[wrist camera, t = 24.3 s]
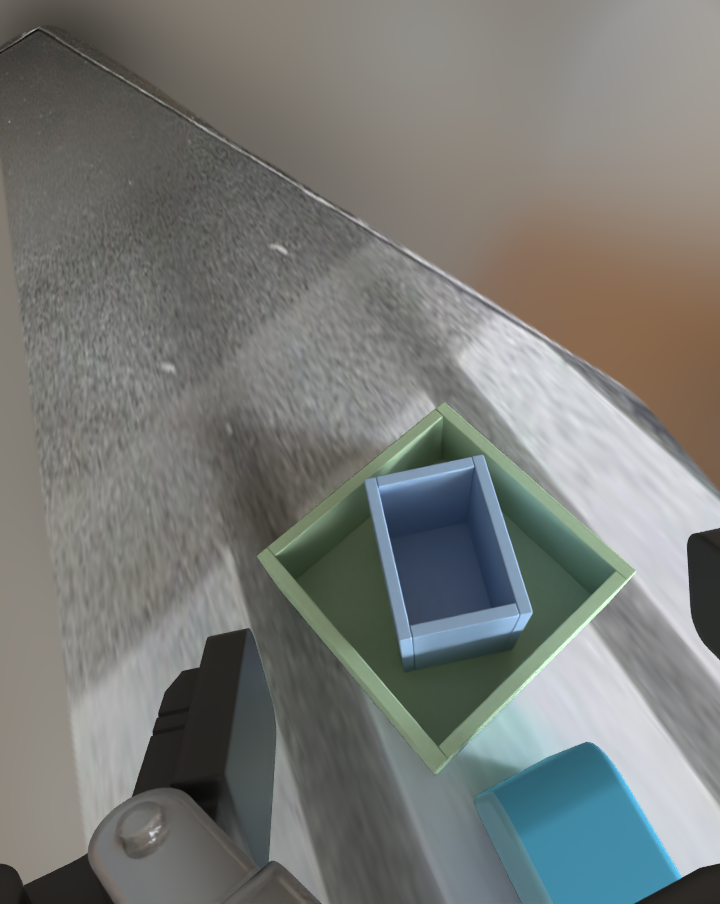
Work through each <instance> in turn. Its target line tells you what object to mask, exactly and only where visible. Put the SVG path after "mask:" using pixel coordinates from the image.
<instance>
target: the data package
mask: <svg viewBox="0 0 720 904" xmlns="http://www.w3.org/2000/svg"><path fill="white" fill-rule="evenodd" d="M474 803H475V806H476V809H477V811H478V813H479V816H480V818H481V820H482V822H483V825H484V827H485V829H486V831H487V833H488V835H489V837H490V839H491V841H492V843H493V845H494V847H495V849H496V851H497V854H498V856H499V858H500V860H501V862H502V864H503V866H504V868H505V870H506V872H507V874H508V876H509V878H510V880H511V882H512V884H513V886H514V888H515V891H516V893H517V895H518V897H519V899H520V901H521V903H522V904H634V903H636V902H638V901H640V900H642V899H644V898H645V897H647V896H649V895H651V894H653V893H655V892H657V891H658V890H660V889H662V888H664V887H666V886H668V885H669V884H671V883H673V882H675V881H677V880H679V879H681V878H682V877H681V875H680V873H679V872H678V870H677V868H676V866H675V865H674V863H673V861H672V860H671V858H670V856H669V855H668V853H667V851H666V850H665V848H664V846H663V844H662V843H661V841H660V839H659V838H658V836H657V834H656V833H655V831H654V829H653V828H652V826H651V824H650V822H649V821H648V819H647V817H646V816H645V814H644V812H643V811H642V809H641V807H640V806H639V804H638V802H637V800H636V799H635V797H634V795H633V794H632V792H631V790H630V789H629V787H628V785H627V784H626V782H625V780H624V779H623V777H622V776H621V774H620V772H619V771H618V770H617V768H616V767H615V765H614V764H613V763H612V761H611V760H610V759H609V757H608V756H607V755H606V754H605V753H604V752H603V751H602V750H601V749H600V748H599V747H598V746H596V745H595V744H593V743H590V742H585V743H582V744H580V745H577V746H575V747H572V748H570V749H567V750H565V751H562V752H559V753H557V754H554V755H552V756H549V757H547V758H545V759H544V760H542V761H540V762H538V763H536V764H534V765H532V766H530V767H529V768H527V769H525V770H523V771H521V772H519V773H517V774H516V775H514V776H512V777H510V778H508V779H506V780H504V781H503V782H501V783H499V784H497V785H495V786H493V787H491V788H489V789H488V790H486V791H484V792H482V793H480V794H478V795H477V796H476V797H475V799H474Z"/></svg>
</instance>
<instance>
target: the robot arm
mask: <svg viewBox="0 0 720 904" xmlns="http://www.w3.org/2000/svg"><path fill="white" fill-rule="evenodd" d="M687 556H688V573H689V591H690V608H691V615H692V620H693V623H694V626H695V628H696V631H697V633H698V635H699V637H700V638H701V640H702V641H703V643H704V644H705V645H706V646H707V647H708V649H709V650H710V651H711V652H712V653H713V654H714V655H715V656H716V657H717V658H718V659H719V660H720V528H718V529H713V530H709V531H704V532H700V533H695V534H692V535H691V536H690V537H689V539H688V543H687ZM158 715H159V718H157V719H156V722H155V725H154V728H153V736H151V738H150V741H149V744H148V747H147V751H146V754H145V757H144V760H143V763H142V766H141V770H140V773H139V776H138V779H137V782H136V785H135V789H134V792H133V795H132V798H130V799H128V800H126V801H125V802H123V803H122V804H120V805H119V806H118V807H116V808H115V809H114V810H113V811H111V812H110V813H109V814H108V815H107V816H106V817H105V818H104V819H103V821H102V822H101V823H100V824H99V826H98V827H97V829H96V830H95V832H94V834H93V836H92V838H91V840H90V843H89V847H88V853H87V854H86V855H84V856H82V857H81V858H79V859H77V860H75V861H73V862H72V863H70V864H68V865H65V866H64V867H61V868H59V869H57V870H55V871H53V872H51V873H49V874H47V875H45V876H42V877H40V878H38V879H36V880H34V881H32V882H30V883H28V884H26V885H23V883H22V880H21V878H20V876H19V874H18V872H17V871H16V870H15V869H14V868H13V867H11V866H8V865H6V864H0V904H321V903H320V902H319V901H318V900H317V899H316V898H315V897H314V896H313V895H312V894H311V893H310V892H309V891H308V890H307V889H306V888H305V887H304V886H303V885H302V884H301V883H300V882H299V881H298V880H297V879H296V878H295V877H294V876H293V875H292V874H291V873H290V872H289V871H288V870H287V869H286V868H285V867H283V866H282V865H281V864H279V863H278V862H276V861H270V862H269V846H270V830H271V814H272V797H273V781H274V765H275V749H276V722H275V715H274V709H273V704H272V700H271V696H270V692H269V689H268V685H267V682H266V678H265V675H264V671H263V667H262V664H261V660H260V657H259V653H258V650H257V646H256V643H255V639H254V636H253V634H252V632H251V630H250V629H249V628H247V629H242V630H238V631H233V632H228V633H224V634H219V635H214V636H210V637H208V638H207V641H206V644H205V648H204V652H203V656H202V660H201V664H200V667H199V668H195V669H190V670H185V671H182V672H181V673H180V675H179V676H178V677H177V678H176V679H175V681H174V682H173V683H172V684H171V685H170V687H169V688H168V689H167V690H166V691H165V694H164V697H163V700H162V703H161V706H160V709H159V713H158ZM268 862H269V863H268ZM634 904H720V864H715V865H711V866H706V867H702V868H699V869H697V870H695V871H693V872H692V873H690V874H688V875H686V876H684V877H682V878H681V879H679V880H677V881H675V882H673V883H671V884H669V885H668V886H666V887H664V888H662V889H660V890H658V891H657V892H655V893H653V894H651V895H649V896H647V897H645V898H644V899H642V900H640V901H638V902H636V903H634Z"/></svg>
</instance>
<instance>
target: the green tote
mask: <svg viewBox="0 0 720 904" xmlns="http://www.w3.org/2000/svg"><path fill="white" fill-rule="evenodd" d="M477 455H484V458H485V461H486V464H487V467H488V471H489V474H490V477H491V480H492V483H493V487H494V490H495V493H496V496H497V499H498V502H499V506H500V509H501V512H502V515H503V518H504V522H505V525H506V528H507V531H508V534H509V538H510V541H511V544H512V547H513V550H514V553H515V557H516V560H517V563H518V566H519V569H520V573H521V576H522V579H523V582H524V585H525V589H526V592H527V595H528V598H529V601H530V604H531V608H532V611H533V613H532V615H531V617H530V618H529V620H528V622H527V624H526V626H525V627H524V629H523V631H522V633H521V635H520V636H519V638H518V640H517V642H516V644H515V646H514V647H513V649H512V650H507V651H503V652H498V653H493V654H489V655H484V656H480V657H475V658H470V659H466V660H461V661H456V662H452V663H447V664H443V665H438V666H433V667H429V668H424V669H419V670H415V671H410V672H406V673H405V672H404V670H403V665H402V661H401V656H400V651H399V647H398V642H397V637H396V633H395V628H394V624H393V619H392V614H391V610H390V605H389V600H388V596H387V591H386V586H385V582H384V577H383V573H382V568H381V563H380V559H379V554H378V549H377V545H376V540H375V535H374V530H373V525H372V520H371V515H370V509H369V504H368V499H367V494H366V488H365V483H364V480H365V479H369V478H374V477H375V478H376V477H379V476H383V475H388V474H393V473H398V472H402V471H407V470H412V469H416V468H421V467H426V466H430V465H435V464H440V463H445V462H449V461H454V460H459V459H463V458H468V457H471V458H472V457H473V456H477ZM257 557H258V559H259V560H260V562H261V563H262V565H263V566H264V568H265V569H266V571H267V572H268V573H269V575H270V576H271V578H272V579H273V581H274V582H275V584H276V585H277V587H278V588H279V589H280V590H281V592H282V593H283V594H284V595H285V596H286V598H287V599H288V600H289V601H290V602H291V604H292V605H293V606H294V607H295V608H296V610H297V611H298V612H299V613H300V614H301V616H302V617H303V618H304V619H305V620H306V621H307V623H308V624H309V625H310V626H311V627H312V629H313V630H314V631H315V632H316V633H317V635H318V636H319V637H320V638H321V639H322V641H323V642H324V643H325V644H326V645H327V647H328V648H329V649H330V650H331V651H332V653H333V654H334V655H335V656H336V657H337V659H338V660H339V661H340V662H341V663H342V664H343V666H344V667H345V668H346V669H347V670H348V672H349V673H350V674H351V675H352V676H353V678H354V679H355V680H356V681H357V682H358V684H359V685H360V686H361V687H362V688H363V690H364V691H365V692H366V693H367V694H368V696H369V697H370V698H371V699H372V700H373V702H374V703H375V704H376V705H377V706H378V708H379V709H380V710H381V711H382V712H383V713H384V715H385V716H386V717H387V718H388V719H389V721H390V722H391V723H392V724H393V725H394V727H395V728H396V729H397V730H398V731H399V733H400V734H401V735H402V736H403V737H404V739H405V740H406V741H407V742H408V743H409V745H410V746H411V747H412V748H413V749H414V751H415V752H416V753H417V754H418V755H419V757H420V758H421V759H422V760H423V761H424V762H425V764H426V765H427V766H428V767H429V768H430V770H431V771H432V772H433V773H434V774H435V775H437V774H438V773H439V772H440V771H441V770H442V769H443V768H444V767H445V766H446V765H447V764H448V763H449V762H450V761H451V760H452V759H453V758H454V757H455V756H456V755H457V754H458V753H459V752H460V751H461V750H462V749H463V748H464V747H465V746H466V745H467V744H468V743H469V742H470V741H471V740H472V739H473V738H474V737H475V736H476V735H477V734H478V733H479V732H480V731H481V730H482V729H483V728H484V727H485V726H486V725H487V724H488V723H489V722H490V721H491V720H492V719H493V718H494V717H495V716H496V715H497V714H498V713H499V712H500V711H501V710H502V709H503V708H504V707H505V706H506V705H507V704H508V703H509V702H510V701H511V700H512V699H513V698H514V697H515V696H516V695H517V694H518V693H519V692H520V691H521V690H522V689H523V688H524V687H525V686H526V685H527V684H528V683H529V682H530V681H531V680H532V679H533V678H534V677H535V676H536V675H537V674H538V673H539V672H540V671H541V670H542V669H543V668H544V667H545V666H546V665H547V664H548V663H549V662H550V661H551V660H552V659H553V658H554V657H555V656H556V655H557V654H558V653H559V652H560V651H561V650H562V649H563V648H564V647H565V646H566V645H567V644H568V643H569V642H570V641H571V640H572V639H573V638H574V637H575V636H576V635H577V634H578V633H579V632H580V631H581V630H582V629H583V628H584V627H585V626H586V625H587V624H588V623H589V622H590V621H591V620H592V619H593V618H594V617H595V616H596V615H597V614H598V613H599V612H600V611H601V610H602V609H603V608H604V607H605V606H606V605H607V604H608V603H609V602H610V600H611V599H612V598H613V597H614V596H615V595H616V594H617V593H618V592H619V591H620V589H621V588H622V587H623V586H624V585H625V584H626V583H627V582H628V581H629V579H630V578H631V577H632V576H633V575H634V574H635V573H636V570H635V569H633V568H632V567H631V566H630V565H629V564H628V563H627V562H625V561H624V560H623V559H622V558H621V557H620V556H619V555H617V554H616V553H615V552H614V551H613V550H612V549H611V548H610V547H608V546H607V545H606V544H605V543H604V542H603V541H602V540H600V539H599V538H598V537H597V536H596V535H595V534H594V533H593V532H591V531H590V530H589V529H588V528H587V527H586V526H585V525H583V524H582V523H581V522H580V521H579V520H578V519H577V518H575V517H574V516H573V515H572V514H571V513H570V512H569V511H568V510H566V509H565V508H564V507H563V506H562V505H561V504H560V503H558V502H557V501H556V500H555V499H554V498H553V497H552V496H550V495H549V494H548V493H547V492H546V491H545V490H544V489H543V488H541V487H540V486H539V485H538V484H537V483H536V482H535V481H533V480H532V479H531V478H530V477H529V476H528V475H527V474H526V473H524V472H523V471H522V470H521V469H520V468H519V467H518V466H516V465H515V464H514V463H513V462H512V461H511V460H510V459H508V458H507V457H506V456H505V455H504V454H503V453H502V452H501V451H499V450H498V449H497V448H496V447H495V446H494V445H493V444H491V443H490V442H489V441H488V440H487V439H486V438H485V437H484V436H482V435H481V434H480V433H479V432H478V431H477V430H476V429H474V428H473V427H472V426H471V425H470V424H469V423H468V422H466V421H465V420H464V419H463V418H462V417H461V416H460V415H459V414H457V413H456V412H455V411H454V410H453V409H452V408H451V407H449V406H448V405H447V404H446V403H445V402H443V403H441V404H440V405H439V406H438V407H437V408H436V409H435V410H433V411H432V412H431V413H429V414H428V415H427V416H426V417H425V418H423V419H422V420H421V421H420V422H419V423H417V424H416V425H415V426H414V427H412V428H411V429H410V430H409V431H408V432H406V433H405V434H404V435H403V436H401V437H400V438H399V439H398V440H397V441H395V442H394V443H393V444H392V445H391V446H389V447H388V448H387V449H386V450H384V451H383V452H382V453H381V454H380V455H378V456H377V457H376V458H375V459H374V460H372V461H371V462H370V463H369V464H367V465H366V466H365V467H364V468H363V469H361V470H360V471H359V472H358V473H357V474H355V475H354V476H353V477H352V478H350V479H349V480H348V481H347V482H346V483H344V484H343V485H342V486H341V487H340V488H338V489H337V490H336V491H335V492H333V493H332V494H331V495H330V496H329V497H327V498H326V499H325V500H324V501H322V502H321V503H320V504H319V505H318V506H316V507H315V508H314V509H313V510H312V511H310V512H309V513H308V514H307V515H305V516H304V517H303V518H302V519H301V520H299V521H298V522H297V523H296V524H295V525H293V526H292V527H291V528H290V529H288V530H287V531H286V532H285V533H284V534H282V535H281V536H280V537H279V538H278V539H276V540H275V541H274V542H273V543H271V544H270V545H269V546H268V548H265V549H264V550H263V551H262V552H260V553H259V554H258V555H257Z"/></svg>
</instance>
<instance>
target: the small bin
mask: <svg viewBox="0 0 720 904" xmlns="http://www.w3.org/2000/svg"><path fill="white" fill-rule="evenodd" d="M364 483H365V488H366V494H367V499H368V504H369V509H370V515H371V520H372V525H373V530H374V535H375V540H376V545H377V549H378V554H379V559H380V563H381V568H382V573H383V577H384V582H385V586H386V591H387V596H388V600H389V605H390V610H391V614H392V619H393V624H394V628H395V633H396V637H397V642H398V647H399V651H400V656H401V661H402V665H403V670H404V672H405V673H406V672H410V671H415V670H419V669H424V668H429V667H433V666H438V665H443V664H447V663H452V662H456V661H461V660H466V659H470V658H475V657H480V656H484V655H489V654H493V653H498V652H503V651H507V650H512V649H513V647H514V646H515V644H516V642H517V640H518V638H519V636H520V635H521V633H522V631H523V629H524V627H525V626H526V624H527V622H528V620H529V618H530V617H531V615H532V613H533V611H532V608H531V604H530V601H529V598H528V595H527V592H526V589H525V585H524V582H523V579H522V576H521V573H520V569H519V566H518V563H517V560H516V557H515V553H514V550H513V547H512V544H511V541H510V538H509V534H508V531H507V528H506V525H505V522H504V518H503V515H502V512H501V509H500V506H499V502H498V499H497V496H496V493H495V490H494V487H493V483H492V480H491V477H490V474H489V471H488V467H487V464H486V461H485V458H484V455H477V456H473V457H472V458H471V457H468V458H463V459H459V460H454V461H449V462H445V463H440V464H435V465H430V466H426V467H421V468H416V469H412V470H407V471H402V472H398V473H393V474H388V475H383V476H379V477H376V478H375V477H374V478H369V479H365V480H364Z"/></svg>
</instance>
